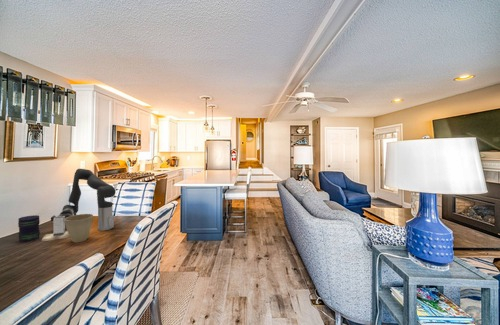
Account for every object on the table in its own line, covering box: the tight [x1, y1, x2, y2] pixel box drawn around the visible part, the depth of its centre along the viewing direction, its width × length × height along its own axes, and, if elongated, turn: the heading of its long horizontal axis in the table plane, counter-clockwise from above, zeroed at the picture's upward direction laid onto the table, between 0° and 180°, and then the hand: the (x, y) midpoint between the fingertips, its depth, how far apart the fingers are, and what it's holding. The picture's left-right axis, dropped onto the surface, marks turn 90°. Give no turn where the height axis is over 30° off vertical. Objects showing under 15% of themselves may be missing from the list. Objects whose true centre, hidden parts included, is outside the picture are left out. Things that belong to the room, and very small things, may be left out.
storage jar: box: [17, 214, 41, 243], centre depth 140 cm, size 10×10×15 cm
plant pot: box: [64, 213, 94, 244], centre depth 140 cm, size 15×15×16 cm
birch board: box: [41, 231, 70, 242], centre depth 146 cm, size 16×10×2 cm, turn 122°
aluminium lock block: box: [52, 216, 66, 237], centre depth 146 cm, size 5×6×12 cm
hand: (62, 219), depth 153 cm, fingers open, 8 cm apart
